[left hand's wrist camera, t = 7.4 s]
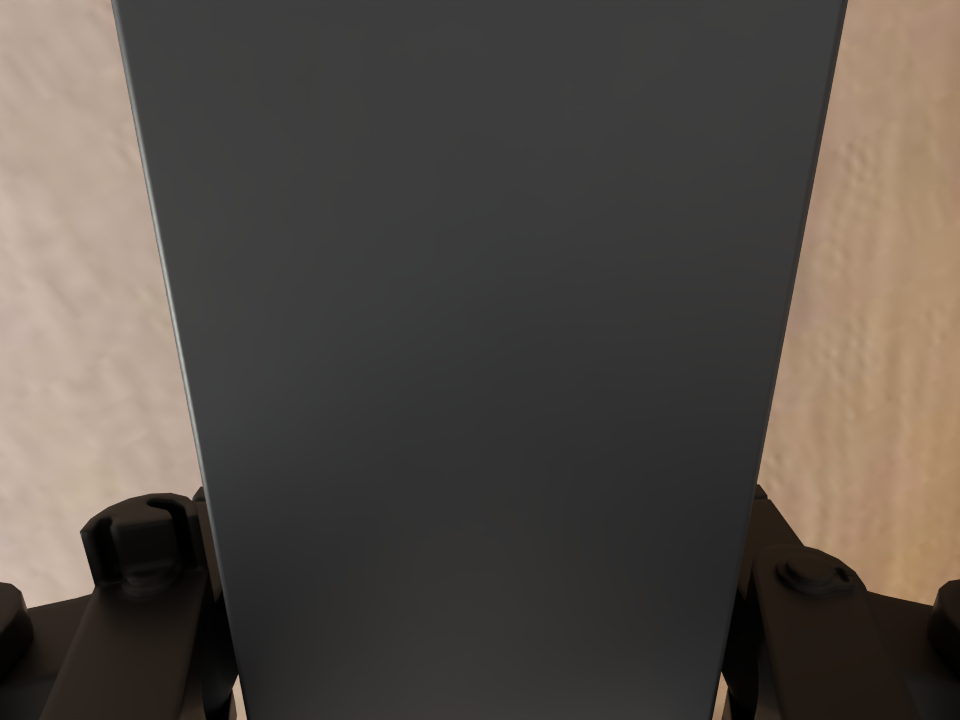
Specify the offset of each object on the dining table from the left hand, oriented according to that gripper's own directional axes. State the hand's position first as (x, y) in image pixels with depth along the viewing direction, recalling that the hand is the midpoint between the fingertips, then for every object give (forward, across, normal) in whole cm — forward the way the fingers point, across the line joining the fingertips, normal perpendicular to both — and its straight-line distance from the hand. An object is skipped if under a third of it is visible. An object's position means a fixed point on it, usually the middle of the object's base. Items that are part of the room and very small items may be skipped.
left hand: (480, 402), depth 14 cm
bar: (+1, 0, -8) cm, 8 cm away
